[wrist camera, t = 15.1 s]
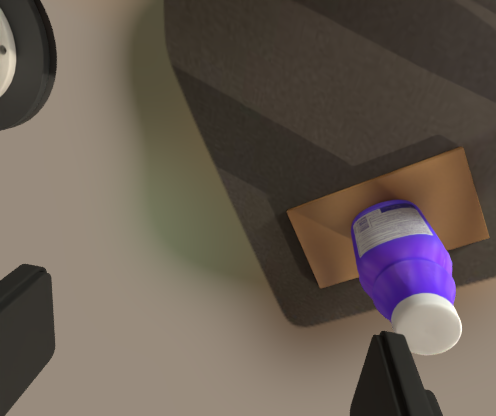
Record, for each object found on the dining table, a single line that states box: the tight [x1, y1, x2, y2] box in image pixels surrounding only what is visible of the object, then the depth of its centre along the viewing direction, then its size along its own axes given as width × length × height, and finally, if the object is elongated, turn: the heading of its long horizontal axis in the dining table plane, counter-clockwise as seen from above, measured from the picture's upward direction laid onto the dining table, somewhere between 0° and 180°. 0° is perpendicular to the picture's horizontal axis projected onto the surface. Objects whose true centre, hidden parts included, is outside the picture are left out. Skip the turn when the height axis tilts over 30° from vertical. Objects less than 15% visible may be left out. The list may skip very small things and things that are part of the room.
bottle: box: [351, 200, 462, 355], centre depth 33 cm, size 7×6×17 cm
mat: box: [287, 147, 489, 288], centre depth 42 cm, size 18×10×1 cm, turn 114°
